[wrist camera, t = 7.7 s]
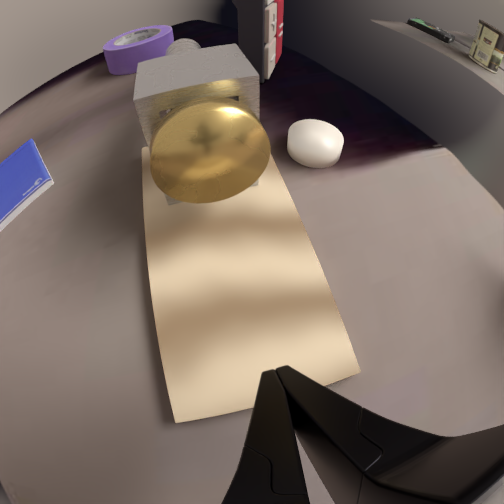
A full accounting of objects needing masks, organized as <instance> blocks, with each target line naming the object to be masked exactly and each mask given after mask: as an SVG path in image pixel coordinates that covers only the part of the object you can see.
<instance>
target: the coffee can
mask: <svg viewBox="0 0 504 504" xmlns="http://www.w3.org/2000/svg"><path fill="white" fill-rule="evenodd" d="M503 55H504V33H502V32H501V31H499V30H498V29H496V28H494V27H493V26H491V25H489V24H488V23H486V22H484V21H482V20H479V24H478V28H477V31H476V34H475V37H474V41H473V44H472V47H471V50H470V53H469V55H468V56H469V57H470V58H471V59H472V60H473V61H475V62H476V63H477V64H479V65H480V66H482V67H483V68H485V69H487V70H489V71H490V72H492V73H495V74H496V73H497V70H498V68H499V65H500V63H501V60H502V57H503Z"/></svg>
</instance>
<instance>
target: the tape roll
mask: <svg viewBox="0 0 504 504" xmlns="http://www.w3.org/2000/svg"><path fill="white" fill-rule="evenodd" d="M173 42H174V39H173V32H172V27H170V26H167V25H157V26H148V27H144V28H139V29H135V30H132V31H129V32H126V33H124V34H121V35H119V36H117V37H115V38H113V39H112V40H110V41H108V42H107V43H106V44H105V45H104V47H103V50H104V54H105V58H106V62H107V65H108V69H109V72H110V73H111V74H114V75H126V74H132V73H136V72H137V66H138V63H139V62H143V61H146V60H150V59H154V58H158V57H162V56H165V55H166V50H167V48H168V47H169V46H170V45H171V44H172V43H173Z"/></svg>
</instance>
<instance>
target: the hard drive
mask: <svg viewBox="0 0 504 504" xmlns="http://www.w3.org/2000/svg"><path fill="white" fill-rule="evenodd" d="M53 184H54V182H53V180H52V178H51V176H50V174H49V172H48V170H47V168H46V166H45V164H44V162H43V160H42V158H41V156H40V153H39V151H38V149H37V147H36V145H35V143H34V141H33V139H30V140H28V141H27V142H26V143H24V144H23V145H22V146H21V147H19V148H18V149H17V150H16V151H15V152H13V153H12V154H11V155H10V156H9V157H8V158H6V159H5V160H4V161H3V162H2V163H1V164H0V232H1V231H2V230H3V229H4V228H5V227H6V226H7V225H8V224H9V223H10V222H11V221H12V220H13V219H14V218H15V217H16V216H17V215H18V214H19V213H20V212H21V211H22V210H24V209H25V208H26V207H27V206H28V205H29V204H30V203H31V202H32V201H34V200H35V199H36V198H37V197H38V196H39V195H41V194H42V193H43V192H44V191H45V190H47V189H48V188H49V187H50V186H51V185H53Z"/></svg>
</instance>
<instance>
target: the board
mask: <svg viewBox="0 0 504 504" xmlns="http://www.w3.org/2000/svg"><path fill="white" fill-rule="evenodd" d="M142 186H143V209H144V225H145V239H146V251H147V261H148V271H149V280H150V288H151V296H152V303H153V311H154V317H155V324H156V330H157V336H158V342H159V348H160V354H161V359H162V364H163V369H164V374H165V379H166V384H167V389H168V393H169V398H170V402H171V406H172V411H173V415H174V419H175V423H179V422H185V421H191V420H197V419H203V418H208V417H213V416H218V415H223V414H227V413H232V412H236V411H240V410H245V409H249V408H253V407H254V403H255V399H256V394H257V390H258V386H259V381H260V377H261V373H262V372H263V371H267V370H271V369H274V370H275V369H276V368H278V367H281V366H284V365H289V366H290V367H292V368H294V369H295V370H297V371H299V372H300V373H302V374H304V375H306V376H307V377H309V378H311V379H312V380H314V381H316V382H318V383H319V384H321V385H323V386H325V385H328V384H331V383H334V382H336V381H339V380H342V379H344V378H347V377H350V376H352V375H355V374H357V373H360V372H361V371H360V368H359V365H358V362H357V360H356V357H355V354H354V351H353V348H352V346H351V343H350V340H349V337H348V335H347V332H346V329H345V327H344V324H343V321H342V319H341V316H340V313H339V311H338V308H337V306H336V303H335V300H334V298H333V295H332V293H331V290H330V288H329V285H328V283H327V280H326V278H325V275H324V273H323V270H322V268H321V265H320V263H319V261H318V258H317V256H316V253H315V251H314V249H313V246H312V244H311V242H310V239H309V237H308V235H307V232H306V230H305V228H304V225H303V223H302V221H301V219H300V216H299V214H298V212H297V210H296V207H295V205H294V203H293V201H292V198H291V196H290V194H289V192H288V190H287V187H286V185H285V183H284V181H283V179H282V177H281V175H280V172H279V170H278V168H277V166H276V164H275V162H274V160H273V158H272V156H271V154H270V159H269V162H268V165H267V167H266V169H265V170H264V172H263V174H262V175H261V176H260V177H259V185H257V186H252V187H249V188H247V189H246V190H244V191H243V192H241V193H239V194H237V195H235V196H233V197H230V198H228V199H225V200H221V201H217V202H212V203H199V204H197V203H187V202H181V203H177V204H173V205H168V203H167V200H166V197H165V195H164V193H163V192H162V191H161V190H160V189H159V188H158V187H157V185H156V184H155V182H154V180H153V178H152V175H151V170H150V151H149V148H148V146H147V147H143V148H142Z"/></svg>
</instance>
